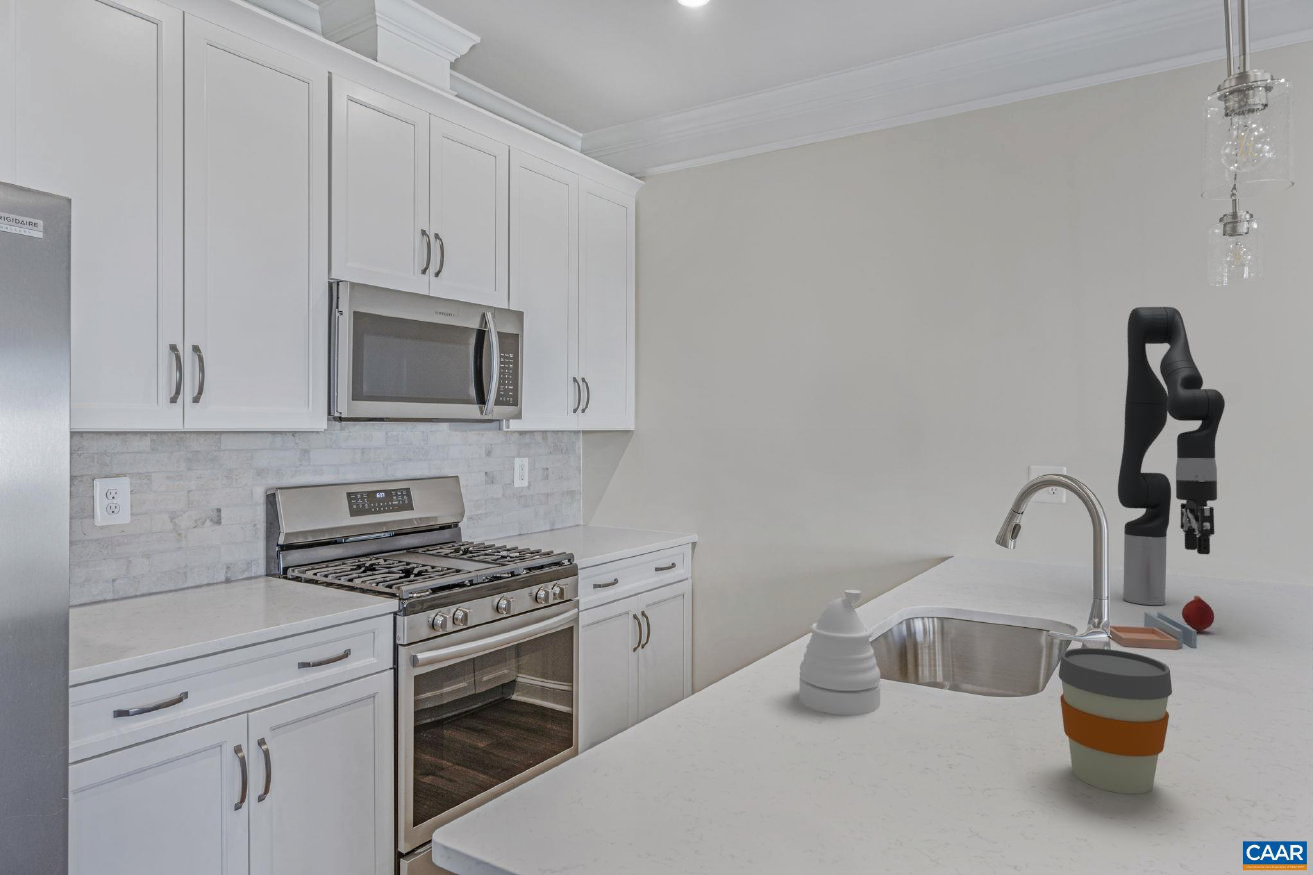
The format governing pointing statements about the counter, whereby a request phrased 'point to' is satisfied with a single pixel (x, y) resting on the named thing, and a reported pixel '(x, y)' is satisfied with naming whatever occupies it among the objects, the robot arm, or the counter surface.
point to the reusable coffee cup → (1114, 716)
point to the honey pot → (840, 662)
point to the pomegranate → (1198, 614)
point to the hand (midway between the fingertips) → (1197, 551)
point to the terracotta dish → (1142, 637)
